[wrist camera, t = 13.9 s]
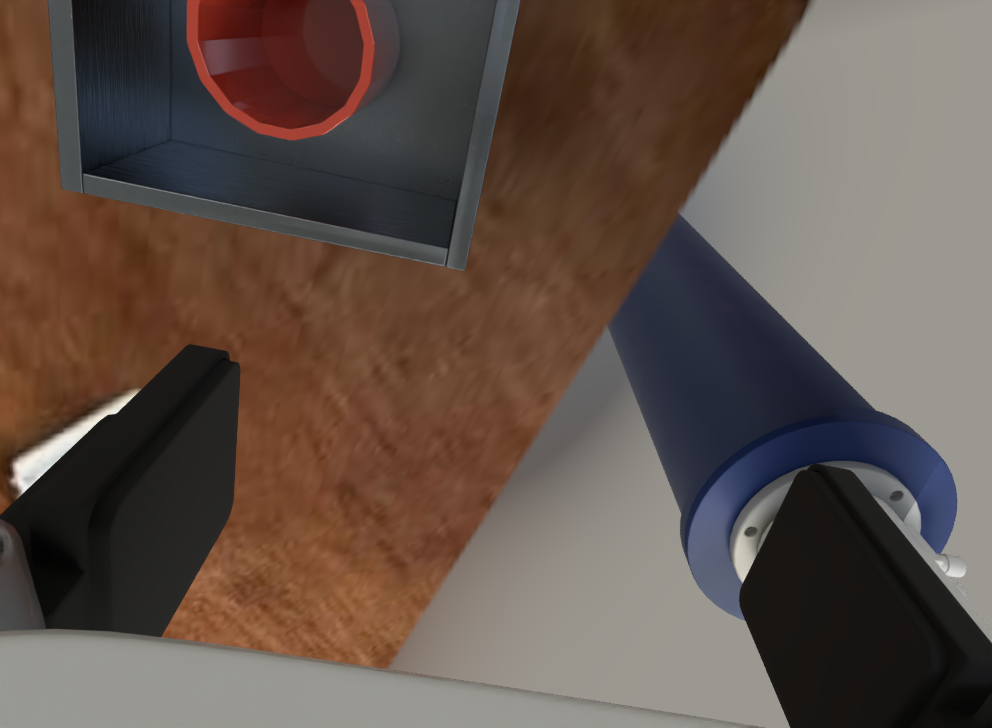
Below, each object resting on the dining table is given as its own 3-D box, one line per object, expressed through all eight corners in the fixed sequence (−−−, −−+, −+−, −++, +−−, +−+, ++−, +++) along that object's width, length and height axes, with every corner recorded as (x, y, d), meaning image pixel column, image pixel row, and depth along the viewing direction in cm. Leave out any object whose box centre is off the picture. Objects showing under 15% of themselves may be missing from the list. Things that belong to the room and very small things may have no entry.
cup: (410, -25, 29) (385, -39, 22) (389, 126, 32) (361, 156, 25) (261, -62, 29) (187, -89, 22) (253, 95, 32) (185, 117, 24)
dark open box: (531, -90, 29) (547, -133, 21) (470, 214, 35) (465, 271, 27) (161, -188, 28) (27, -273, 20) (162, 149, 34) (60, 189, 26)
